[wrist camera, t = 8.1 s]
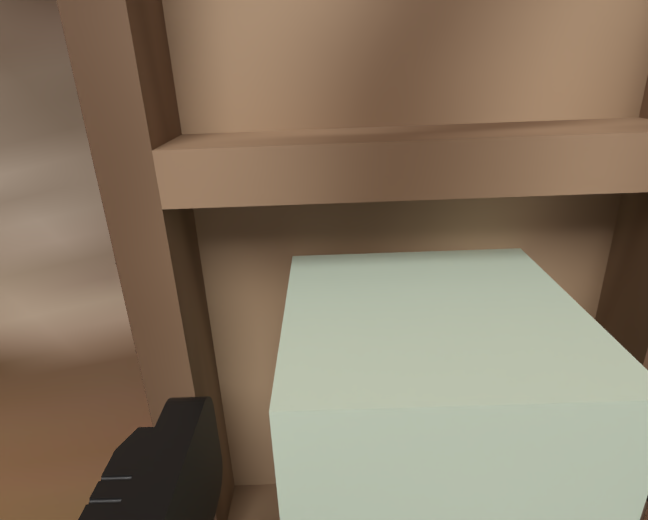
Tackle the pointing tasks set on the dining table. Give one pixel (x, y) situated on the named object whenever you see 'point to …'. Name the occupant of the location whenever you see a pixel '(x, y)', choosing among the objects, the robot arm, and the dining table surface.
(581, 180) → the walnut tray
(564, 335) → the sage block
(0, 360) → the dining table surface
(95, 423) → the dining table surface
